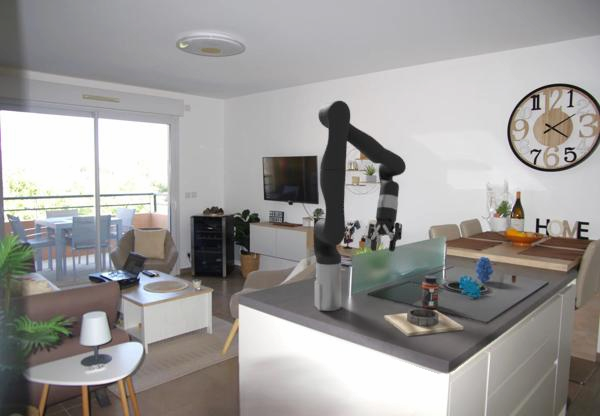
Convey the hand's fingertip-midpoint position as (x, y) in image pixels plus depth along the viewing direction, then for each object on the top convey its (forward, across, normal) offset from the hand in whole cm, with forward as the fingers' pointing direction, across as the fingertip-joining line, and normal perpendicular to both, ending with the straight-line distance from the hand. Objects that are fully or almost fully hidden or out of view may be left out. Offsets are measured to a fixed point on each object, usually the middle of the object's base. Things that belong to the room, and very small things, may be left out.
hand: (382, 250), depth 158 cm
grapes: (+3, +7, +64) cm, 64 cm away
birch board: (+24, +17, +4) cm, 29 cm away
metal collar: (+24, +17, +4) cm, 29 cm away
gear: (+10, +12, +43) cm, 46 cm away
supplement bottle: (+17, +9, +20) cm, 28 cm away
